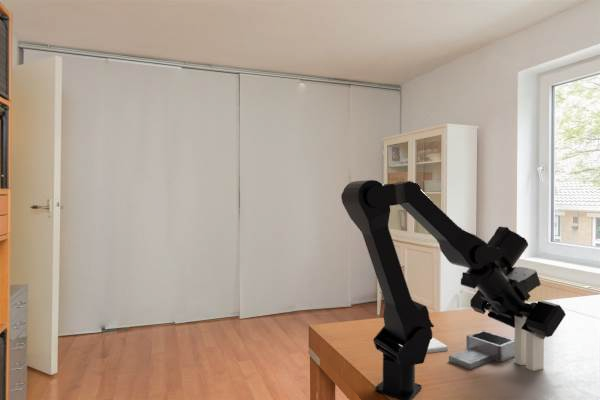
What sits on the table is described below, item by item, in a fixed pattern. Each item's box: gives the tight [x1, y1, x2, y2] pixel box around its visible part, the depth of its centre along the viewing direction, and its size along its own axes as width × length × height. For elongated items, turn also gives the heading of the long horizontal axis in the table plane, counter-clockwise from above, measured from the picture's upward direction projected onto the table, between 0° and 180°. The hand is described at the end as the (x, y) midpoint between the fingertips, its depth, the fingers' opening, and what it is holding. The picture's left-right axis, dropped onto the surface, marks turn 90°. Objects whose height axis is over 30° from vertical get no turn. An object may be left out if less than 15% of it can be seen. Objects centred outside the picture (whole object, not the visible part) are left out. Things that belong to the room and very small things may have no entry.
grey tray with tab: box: [448, 330, 515, 370], centre depth 87 cm, size 16×8×3 cm, turn 124°
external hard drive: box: [399, 336, 449, 354], centre depth 93 cm, size 2×8×12 cm
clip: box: [513, 316, 545, 372], centre depth 83 cm, size 3×4×12 cm
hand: (533, 333), depth 83 cm, fingers closed on clip, 4 cm apart
